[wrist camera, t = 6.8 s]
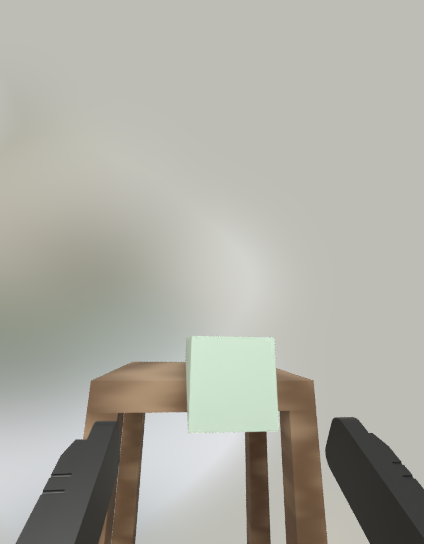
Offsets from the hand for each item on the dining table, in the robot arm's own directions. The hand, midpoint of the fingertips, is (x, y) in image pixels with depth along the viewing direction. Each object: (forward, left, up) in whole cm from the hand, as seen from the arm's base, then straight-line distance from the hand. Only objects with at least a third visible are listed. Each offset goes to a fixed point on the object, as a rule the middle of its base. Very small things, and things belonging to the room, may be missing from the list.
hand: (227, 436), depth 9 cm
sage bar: (0, -11, +1) cm, 11 cm away
